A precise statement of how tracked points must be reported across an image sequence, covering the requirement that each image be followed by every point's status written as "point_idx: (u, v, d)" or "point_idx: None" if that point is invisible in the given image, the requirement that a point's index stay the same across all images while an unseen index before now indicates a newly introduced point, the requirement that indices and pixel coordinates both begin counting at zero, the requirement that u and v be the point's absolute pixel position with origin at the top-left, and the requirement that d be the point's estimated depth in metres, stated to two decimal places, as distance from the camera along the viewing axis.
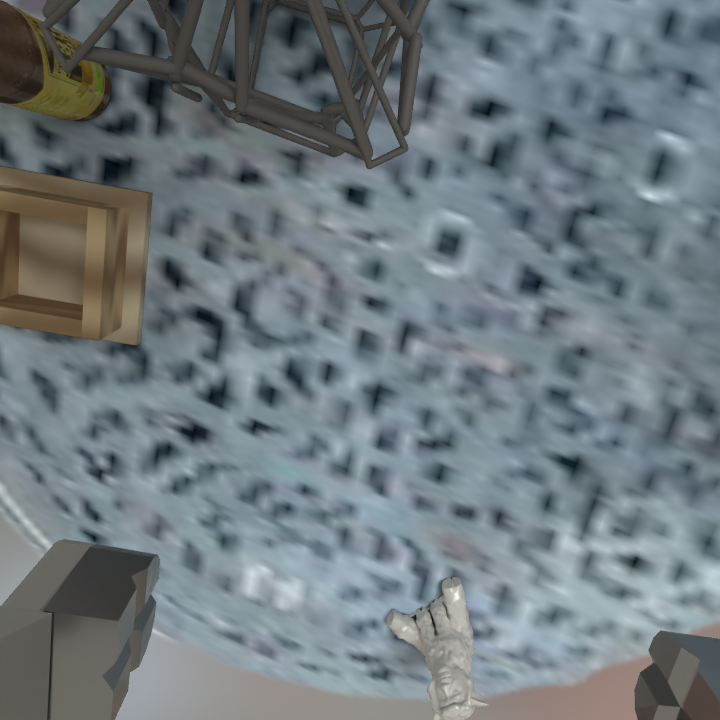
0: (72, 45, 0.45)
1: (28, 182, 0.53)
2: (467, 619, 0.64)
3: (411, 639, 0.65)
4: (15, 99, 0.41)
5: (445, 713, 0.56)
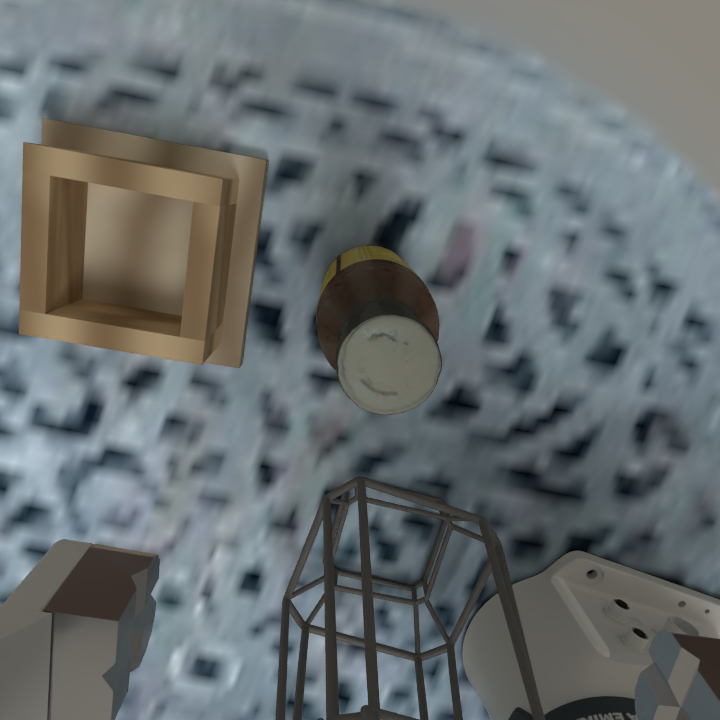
0: None
1: (244, 216, 0.39)
2: None
3: None
4: None
5: None
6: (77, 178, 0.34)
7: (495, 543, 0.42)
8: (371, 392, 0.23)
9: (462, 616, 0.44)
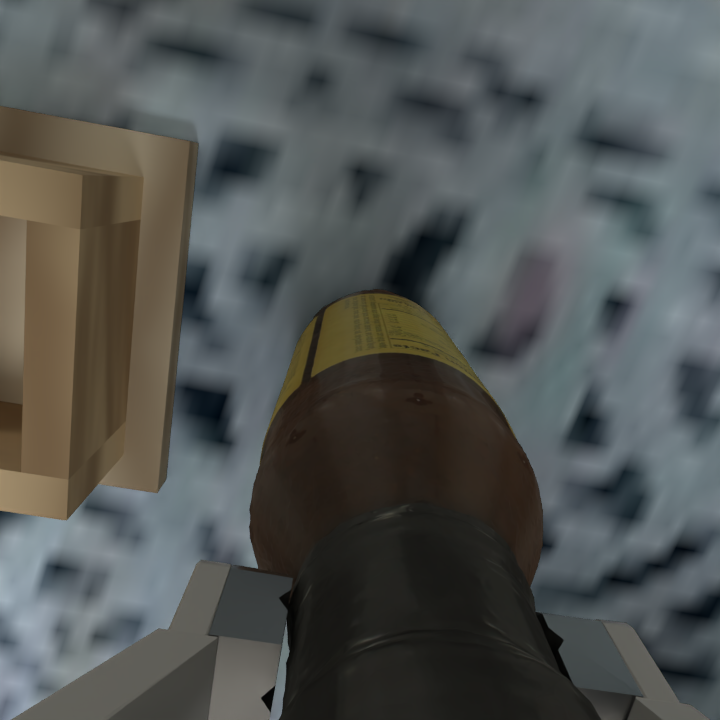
0: None
1: (156, 242, 0.22)
2: None
3: None
4: None
5: None
6: None
7: None
8: None
9: None
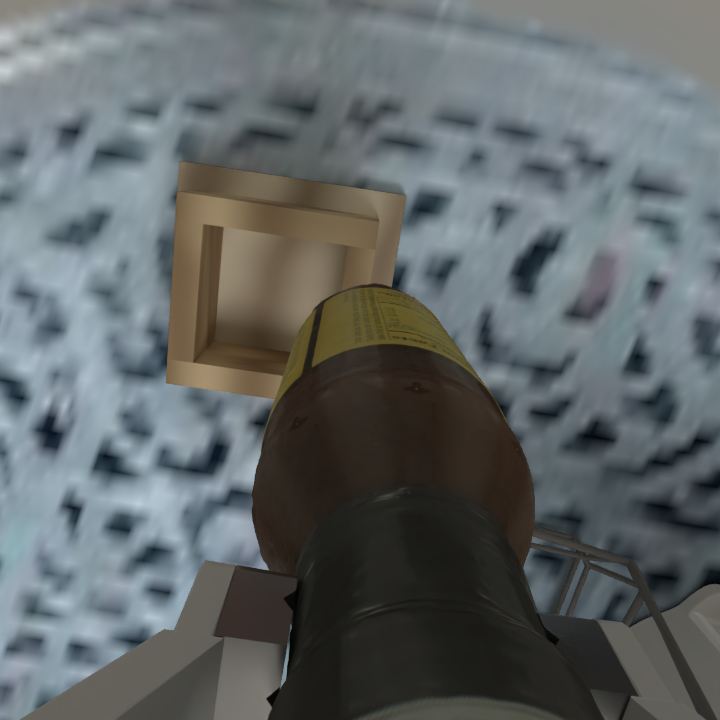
0: None
1: (382, 254, 0.38)
2: None
3: None
4: None
5: None
6: (230, 226, 0.33)
7: None
8: None
9: None
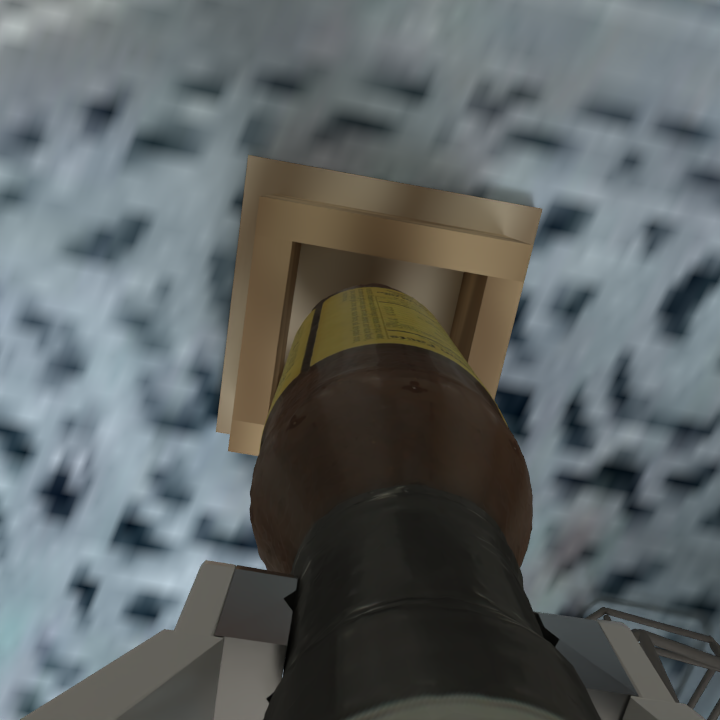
0: None
1: None
2: None
3: None
4: None
5: None
6: (330, 245, 0.24)
7: None
8: None
9: None
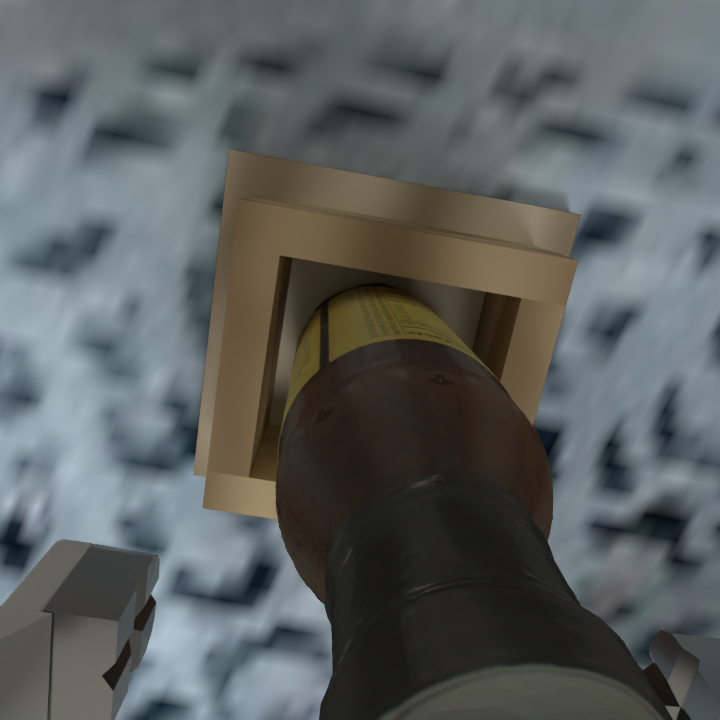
0: None
1: None
2: None
3: None
4: None
5: None
6: (326, 260, 0.19)
7: None
8: None
9: None
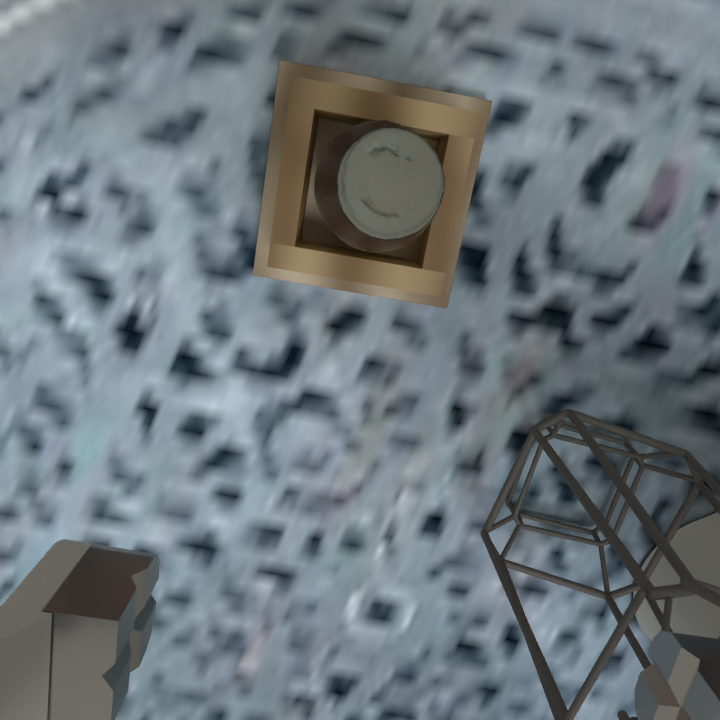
0: None
1: None
2: None
3: None
4: None
5: None
6: (340, 111, 0.35)
7: (697, 478, 0.43)
8: (372, 214, 0.22)
9: (658, 553, 0.44)
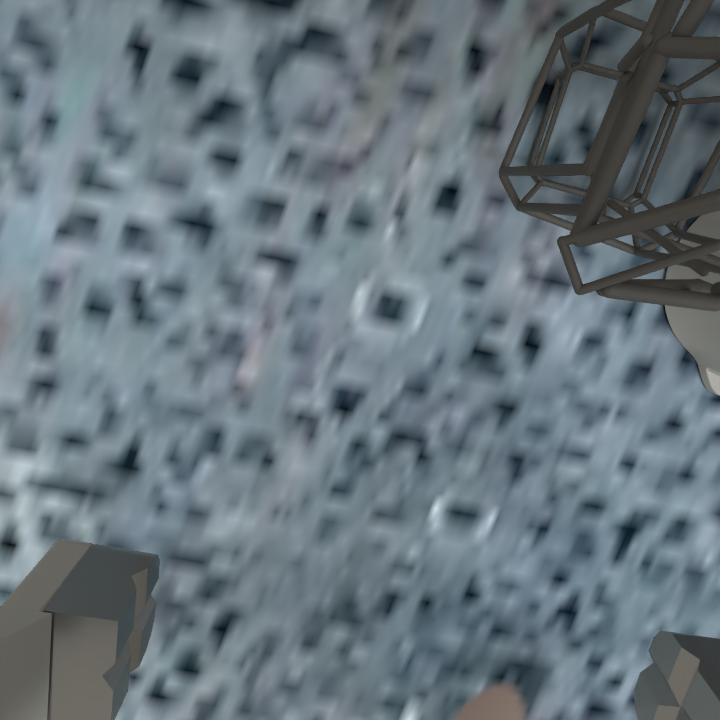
0: None
1: None
2: None
3: None
4: None
5: None
6: None
7: None
8: None
9: (695, 192, 0.40)
